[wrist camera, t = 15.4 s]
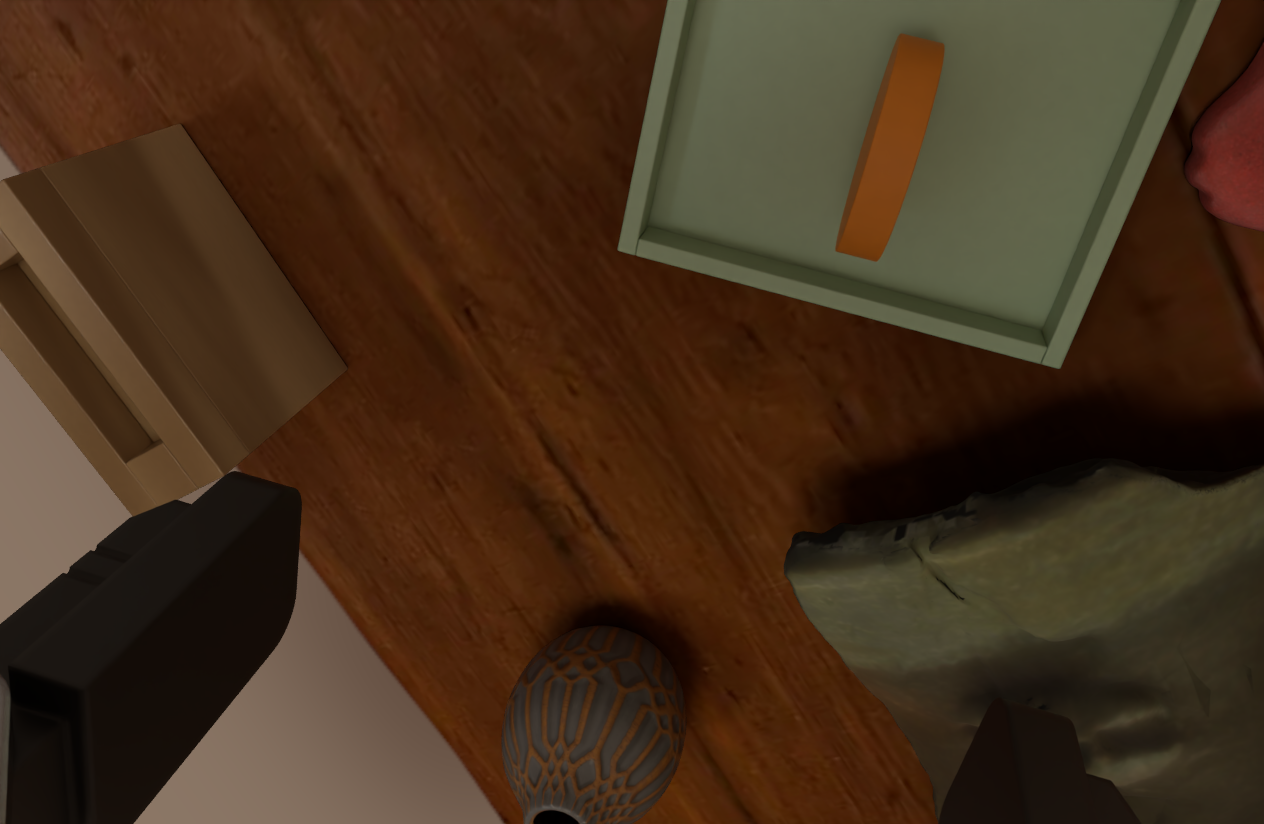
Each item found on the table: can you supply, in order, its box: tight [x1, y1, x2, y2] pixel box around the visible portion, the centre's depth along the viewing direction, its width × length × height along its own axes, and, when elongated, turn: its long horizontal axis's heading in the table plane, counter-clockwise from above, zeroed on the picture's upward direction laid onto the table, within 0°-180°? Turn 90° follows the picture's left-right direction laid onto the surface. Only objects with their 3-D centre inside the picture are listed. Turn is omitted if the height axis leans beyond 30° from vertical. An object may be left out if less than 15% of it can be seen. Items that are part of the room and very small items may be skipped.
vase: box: [502, 626, 687, 824], centre depth 40 cm, size 7×7×9 cm
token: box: [835, 33, 945, 262], centre depth 29 cm, size 1×6×6 cm, turn 169°
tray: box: [618, 0, 1221, 369], centre depth 31 cm, size 14×12×2 cm
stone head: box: [784, 458, 1264, 824], centre depth 37 cm, size 19×8×28 cm
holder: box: [0, 124, 348, 516], centre depth 36 cm, size 4×10×8 cm, turn 31°
